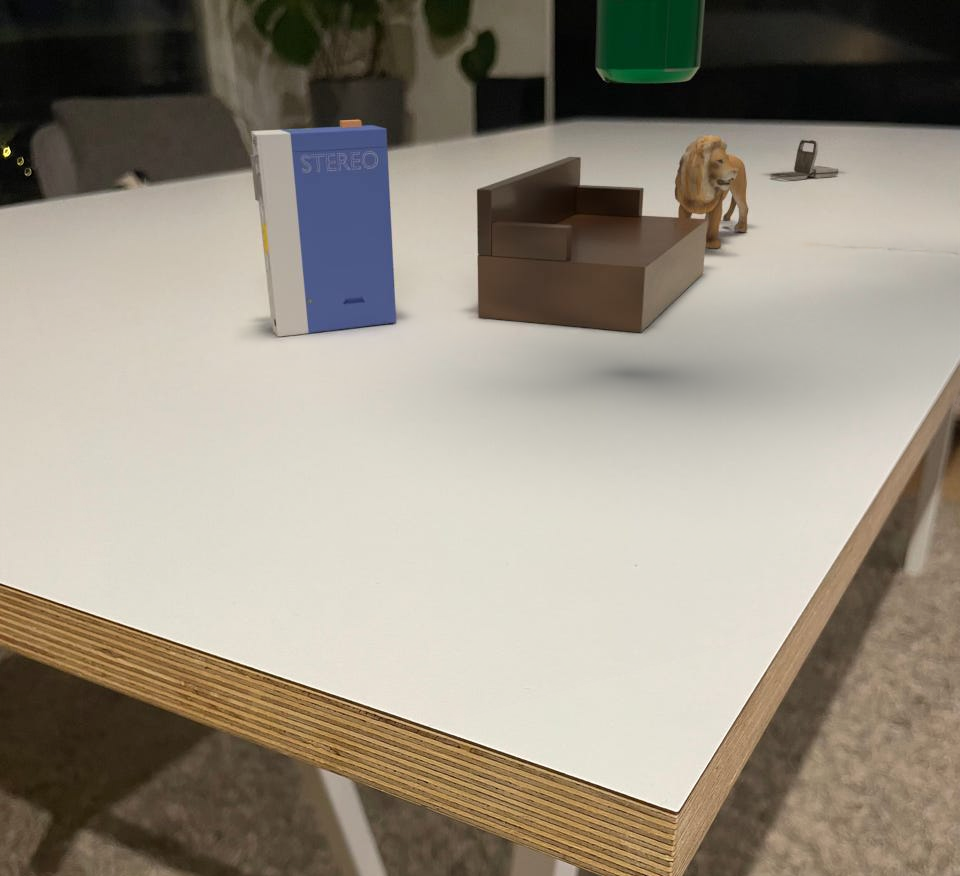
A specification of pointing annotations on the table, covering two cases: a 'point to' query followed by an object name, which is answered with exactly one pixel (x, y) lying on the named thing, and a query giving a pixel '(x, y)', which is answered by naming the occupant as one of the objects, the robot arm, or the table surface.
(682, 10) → the soda can
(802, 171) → the strap clip
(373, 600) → the table surface
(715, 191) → the lion figurine
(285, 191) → the walkman
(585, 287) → the brown toy sofa
